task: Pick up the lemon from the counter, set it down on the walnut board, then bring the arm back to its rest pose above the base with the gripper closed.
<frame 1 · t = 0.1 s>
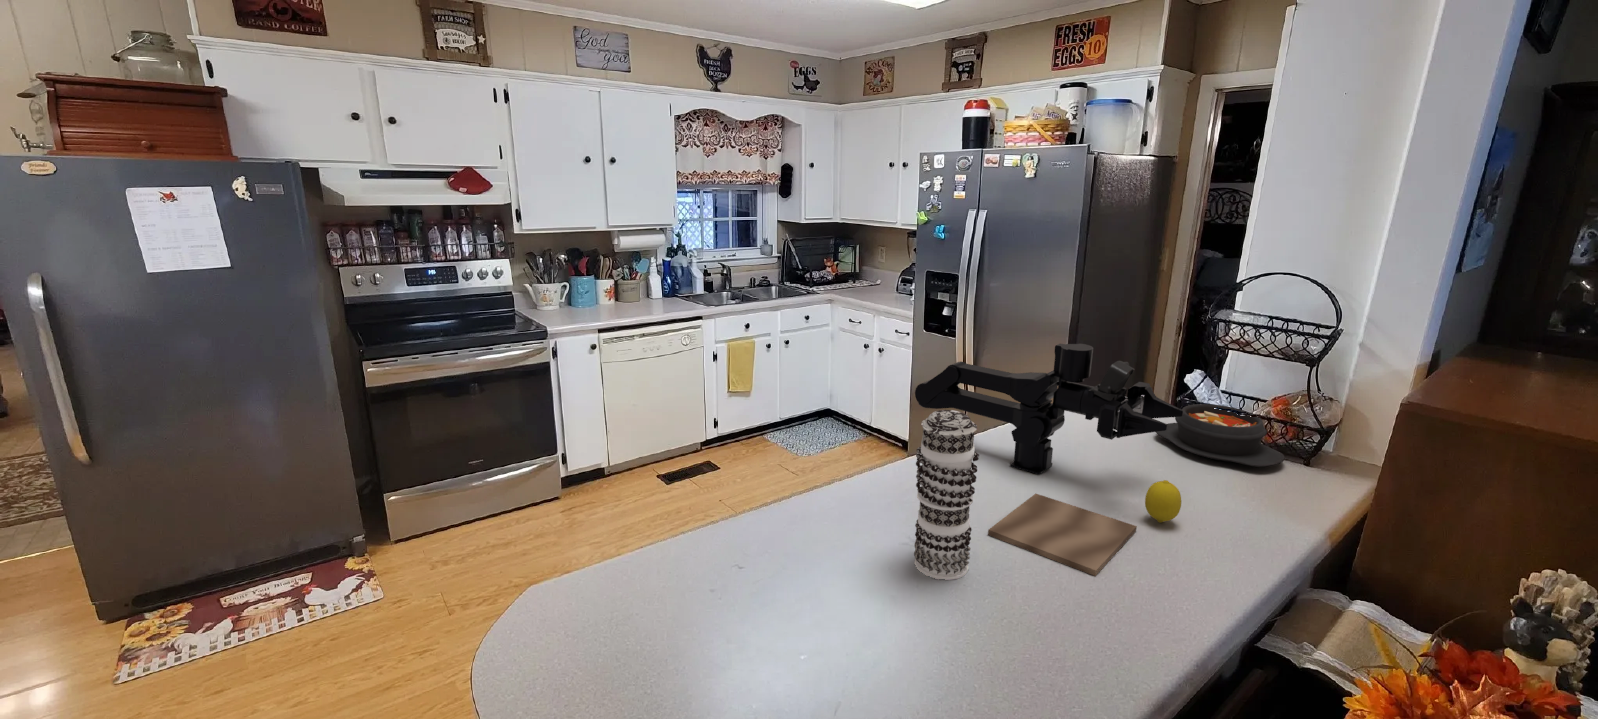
hand: (1175, 420, 122), 17 cm above the countertop, tool horizontal, fingers open, 9 cm apart
decorative candle: (941, 565, 108), on the countertop
lemon: (1159, 523, 120), on the countertop
casserole: (1215, 452, 149), on the countertop
walnut board: (1062, 533, 117), on the countertop
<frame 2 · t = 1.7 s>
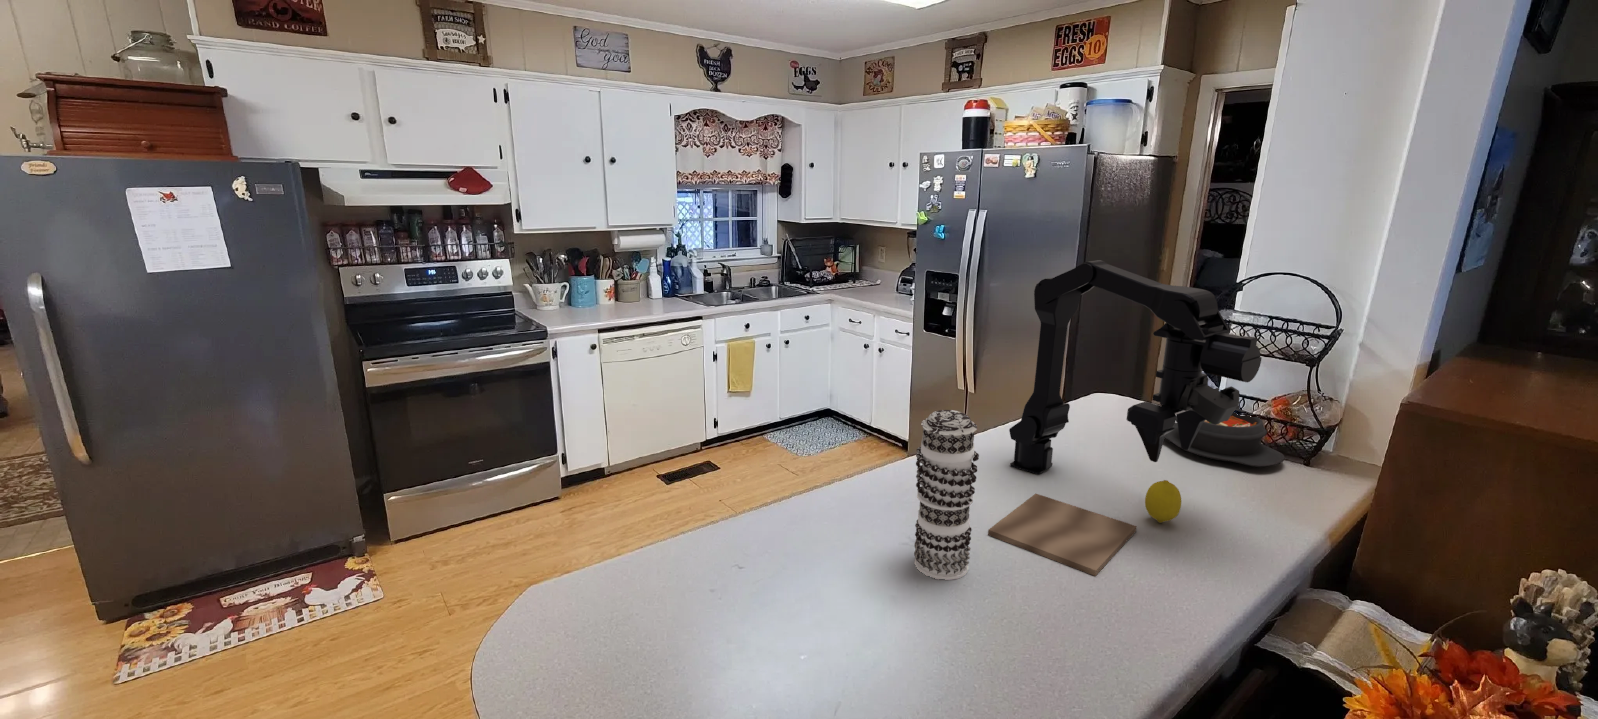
hand: (1169, 455, 117), 13 cm above the countertop, tool pointing down, fingers open, 9 cm apart
nothing on the countertop moved.
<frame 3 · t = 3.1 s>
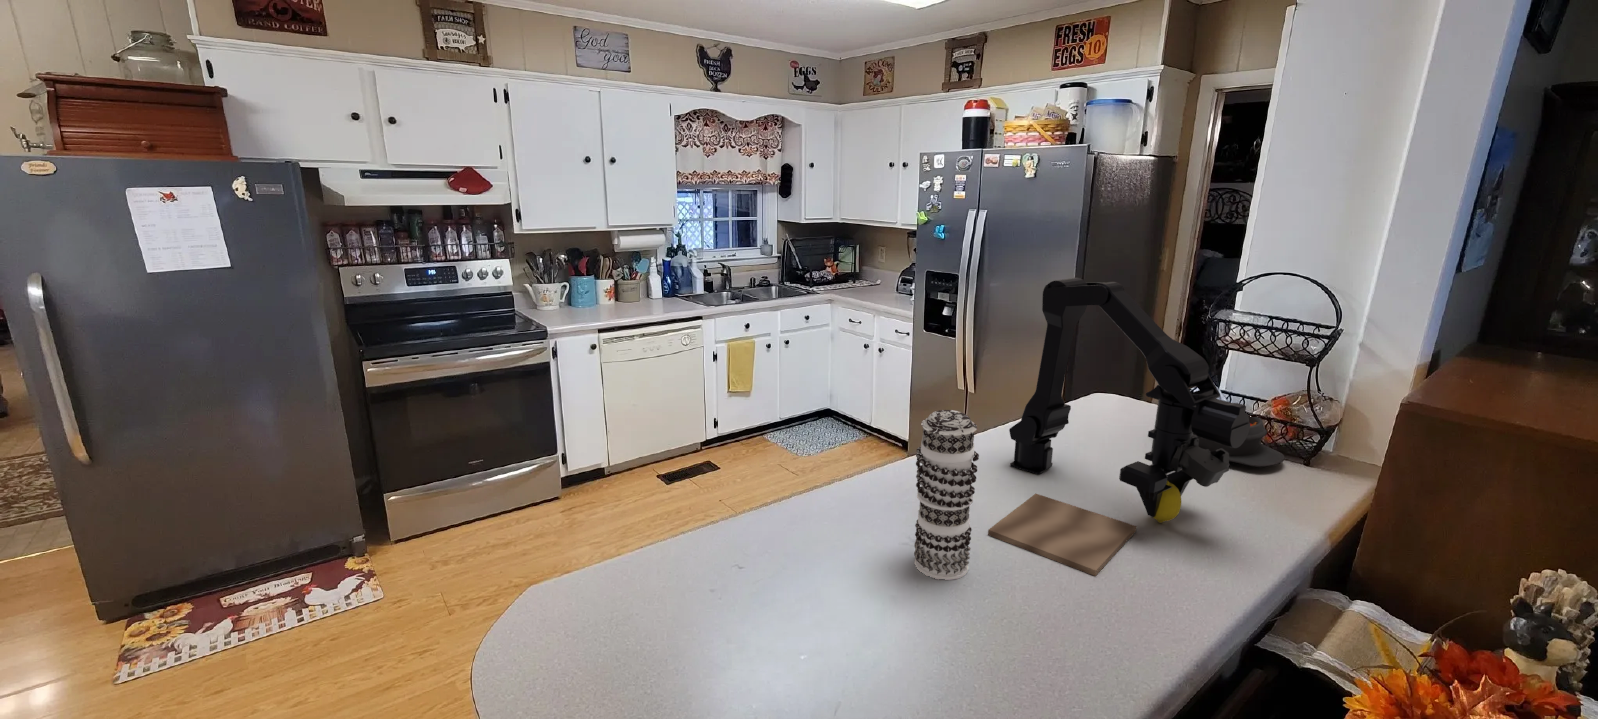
hand: (1161, 511, 120), 2 cm above the countertop, tool pointing down, fingers closed on lemon, 5 cm apart
lemon: (1159, 523, 120), on the countertop, touching gripper
everything else where it was.
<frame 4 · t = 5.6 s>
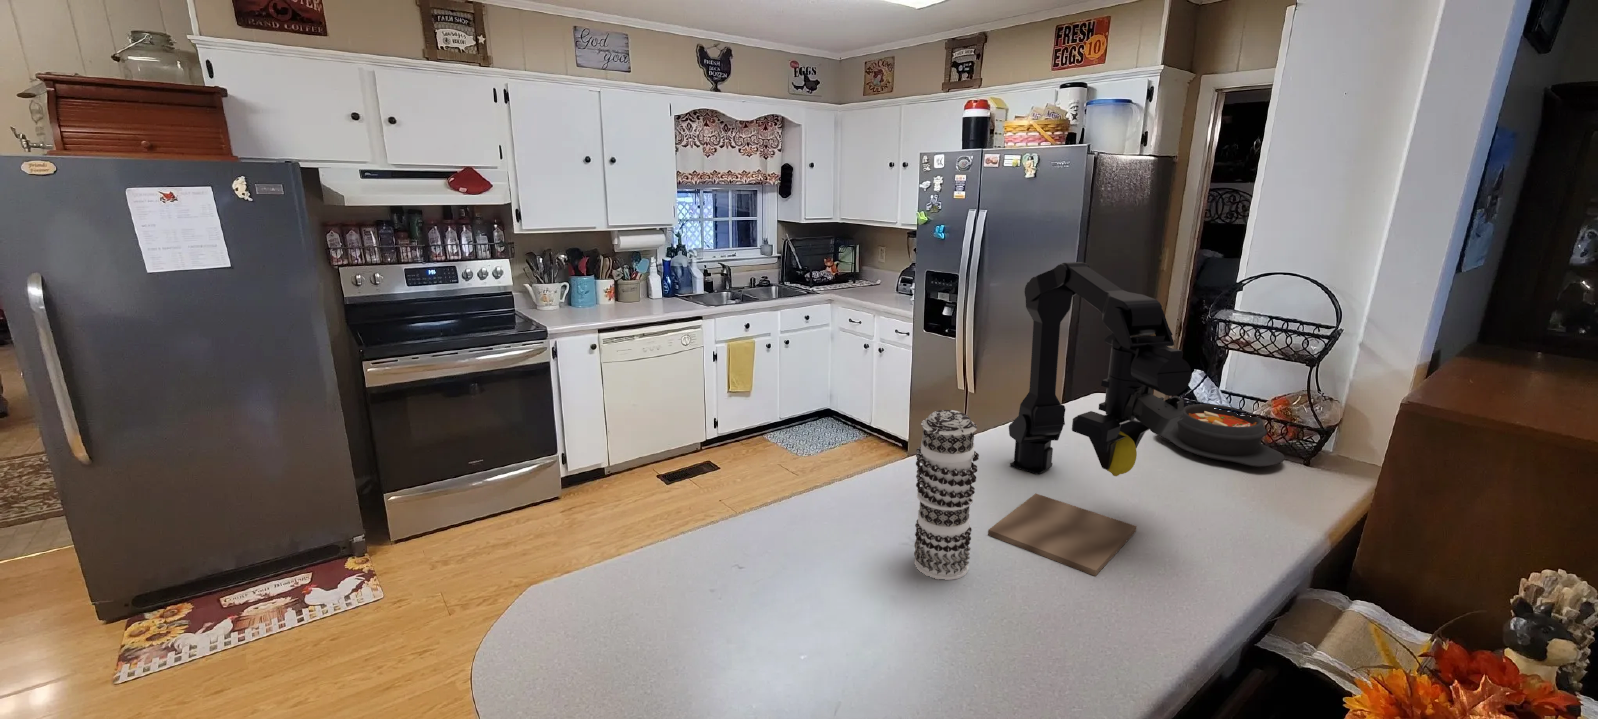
hand: (1116, 464, 115), 12 cm above the countertop, tool pointing down, fingers closed on lemon, 5 cm apart
lemon: (1115, 477, 116), point 10 cm above the countertop, touching gripper
everything else where it was.
when the fingers open (4 cm above the countertop, at t = 8.0 s): lemon drops 1 cm, resting on walnut board.
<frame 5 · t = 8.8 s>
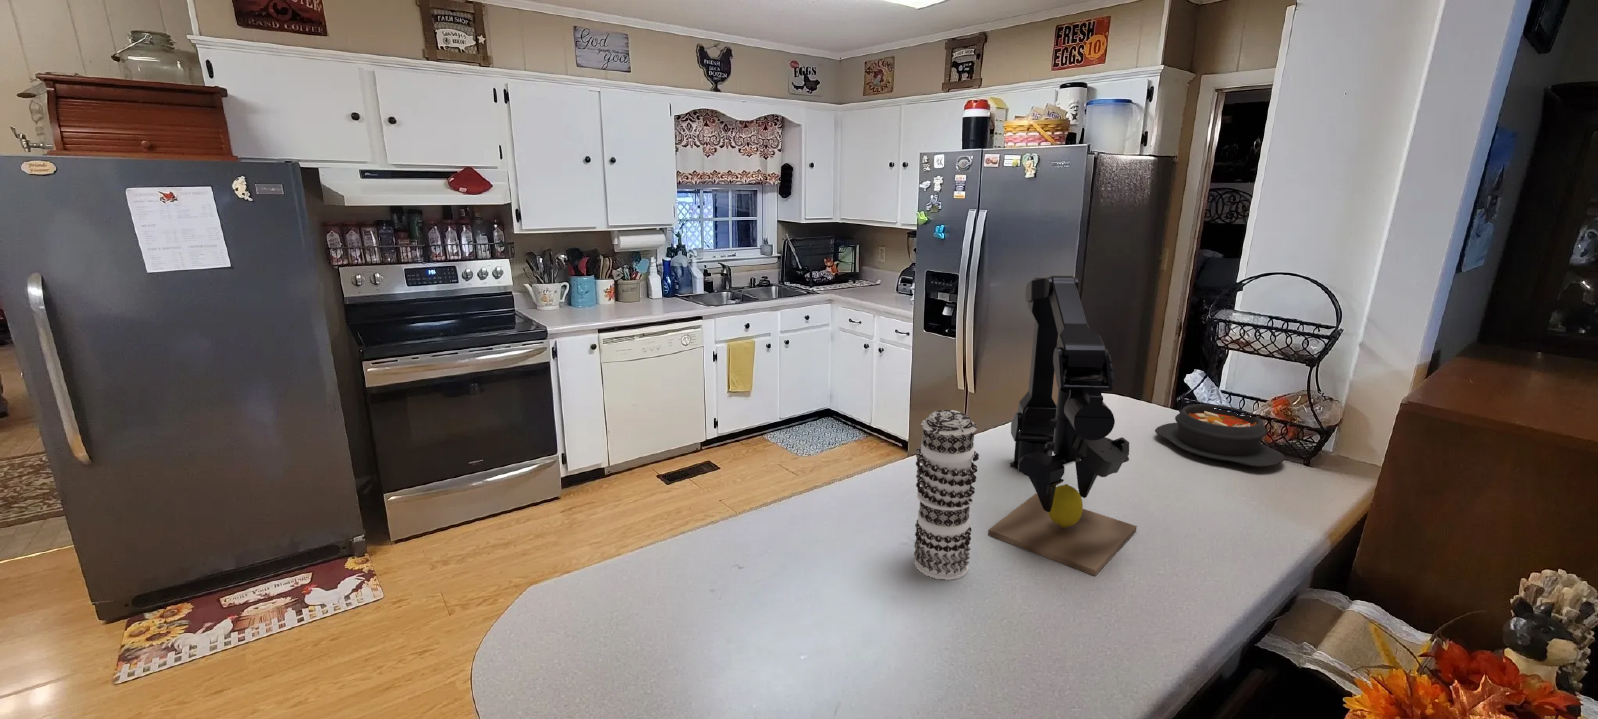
hand: (1065, 503, 115), 6 cm above the countertop, tool pointing down, fingers open, 9 cm apart
lemon: (1063, 528, 117), point 1 cm above the countertop, touching walnut board
everything else where it was.
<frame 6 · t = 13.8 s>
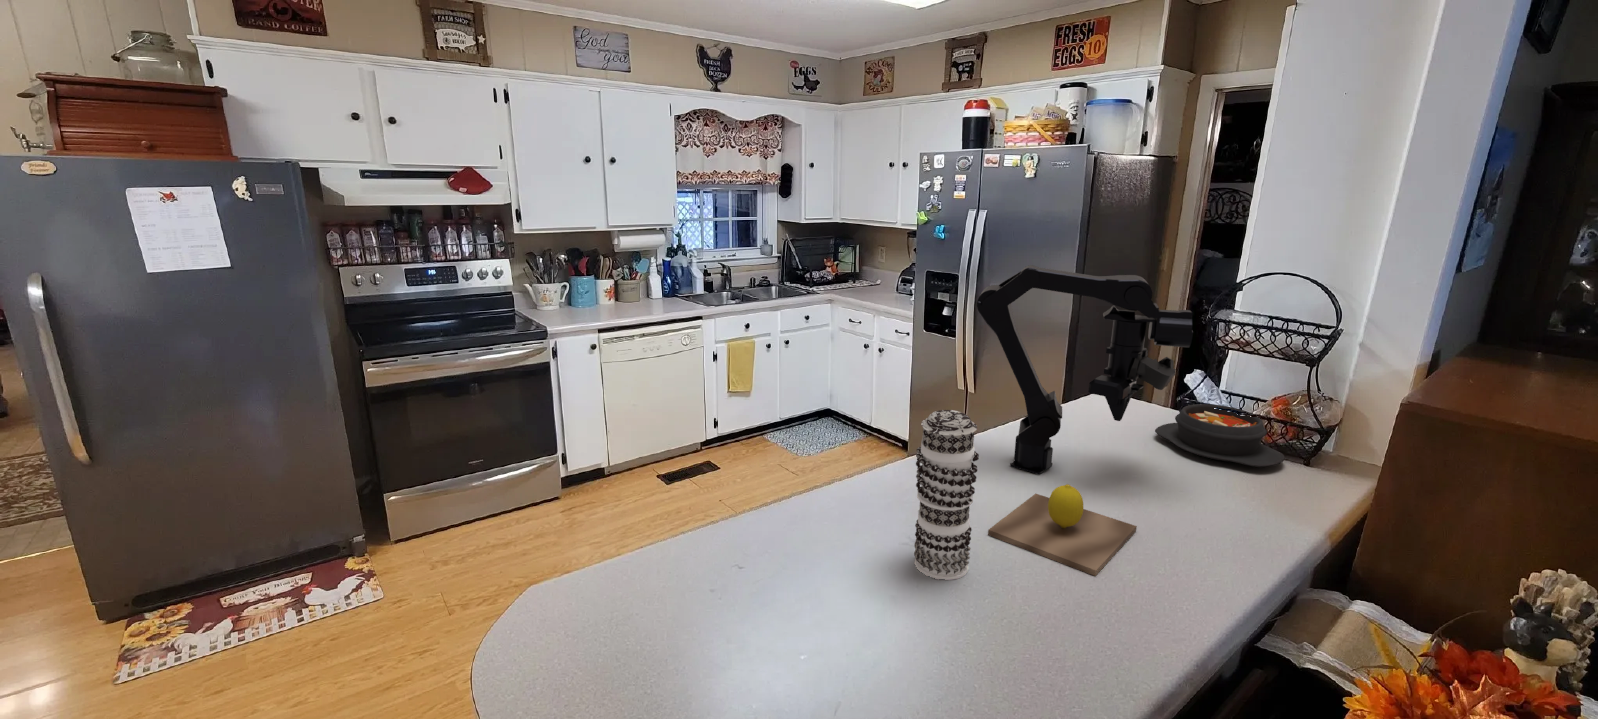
hand: (1117, 420, 134), 12 cm above the countertop, tool pointing down, fingers closed
nothing on the countertop moved.
at the end: lemon inside the target area on the walnut board (0.1 cm from its centre), point 0.8 cm above the walnut board's base; lemon touching walnut board; the gripper is holding nothing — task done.
